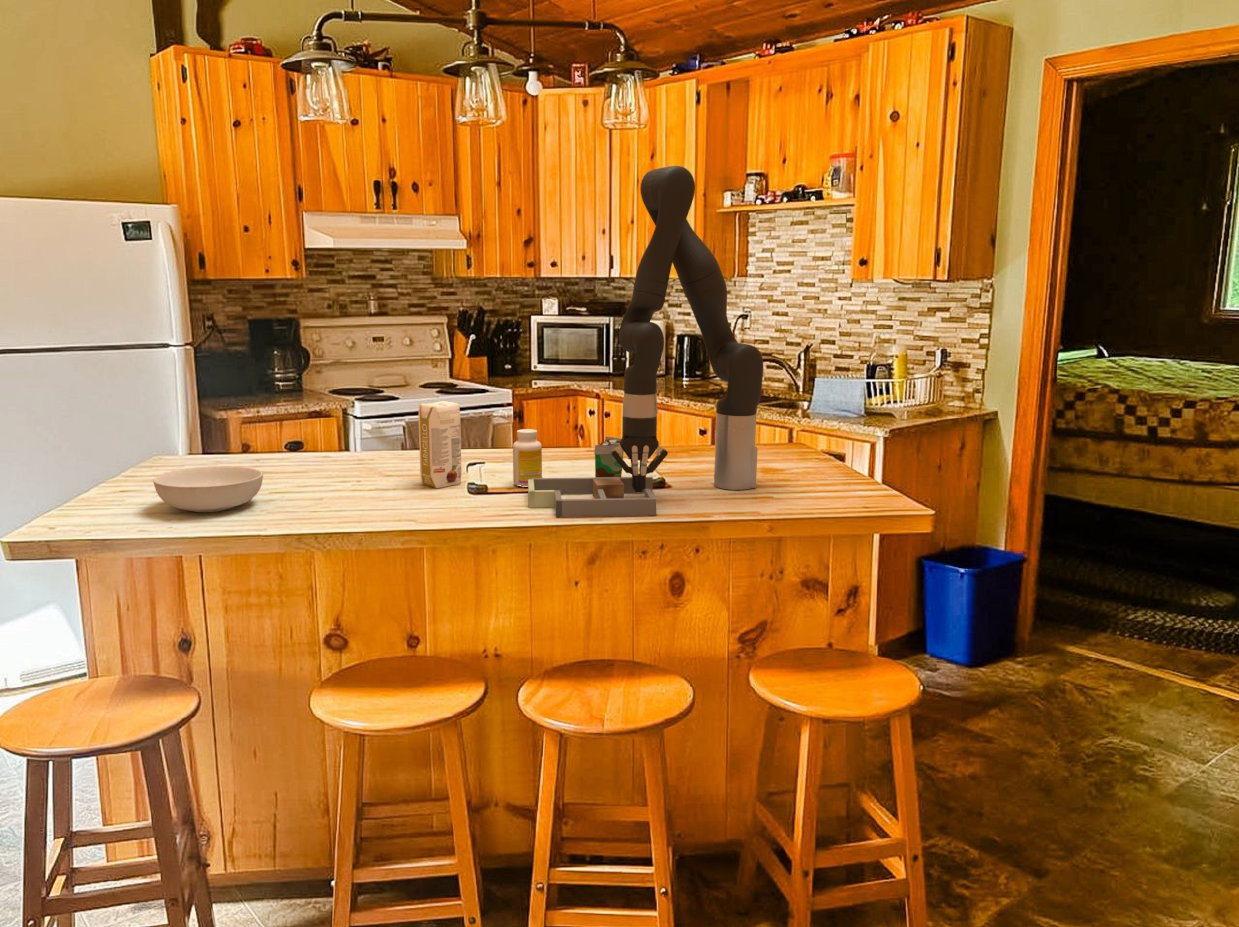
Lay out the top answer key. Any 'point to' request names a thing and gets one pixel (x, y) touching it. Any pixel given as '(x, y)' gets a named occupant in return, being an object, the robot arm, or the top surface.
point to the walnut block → (609, 487)
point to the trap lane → (550, 491)
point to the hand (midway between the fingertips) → (638, 491)
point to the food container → (607, 459)
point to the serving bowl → (208, 487)
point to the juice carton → (440, 444)
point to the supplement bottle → (526, 457)
